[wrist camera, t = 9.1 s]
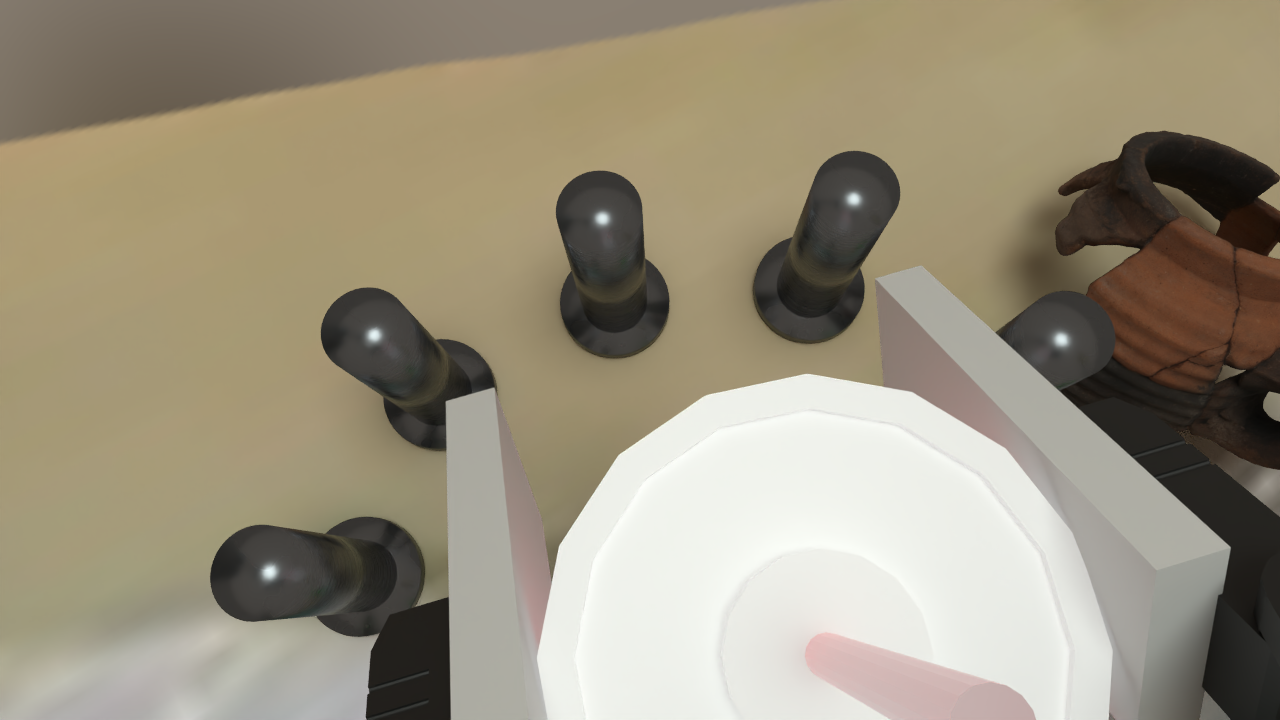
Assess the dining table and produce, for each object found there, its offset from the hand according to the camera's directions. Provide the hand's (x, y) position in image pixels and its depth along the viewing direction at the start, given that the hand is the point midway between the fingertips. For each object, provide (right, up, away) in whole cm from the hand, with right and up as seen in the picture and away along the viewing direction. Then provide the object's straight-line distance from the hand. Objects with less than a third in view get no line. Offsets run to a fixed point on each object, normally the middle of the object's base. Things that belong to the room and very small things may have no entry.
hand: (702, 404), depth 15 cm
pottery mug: (+17, +1, +19) cm, 26 cm away
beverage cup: (+1, -5, +4) cm, 6 cm away
